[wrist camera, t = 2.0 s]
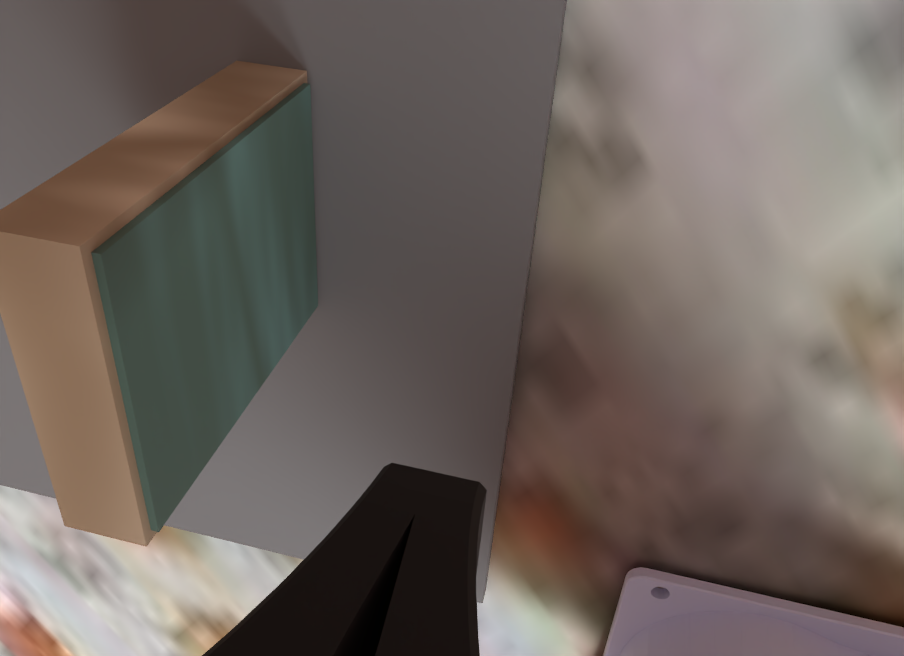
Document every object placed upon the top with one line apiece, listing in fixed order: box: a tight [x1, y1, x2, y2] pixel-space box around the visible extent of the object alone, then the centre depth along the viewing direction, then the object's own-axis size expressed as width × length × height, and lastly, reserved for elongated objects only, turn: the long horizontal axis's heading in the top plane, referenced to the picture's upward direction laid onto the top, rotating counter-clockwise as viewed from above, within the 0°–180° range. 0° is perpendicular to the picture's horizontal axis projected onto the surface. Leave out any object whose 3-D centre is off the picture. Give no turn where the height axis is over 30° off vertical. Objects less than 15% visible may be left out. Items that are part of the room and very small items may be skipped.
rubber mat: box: [0, 0, 567, 603], centre depth 21 cm, size 18×22×1 cm
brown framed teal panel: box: [0, 61, 318, 546], centre depth 16 cm, size 2×6×8 cm, turn 177°
